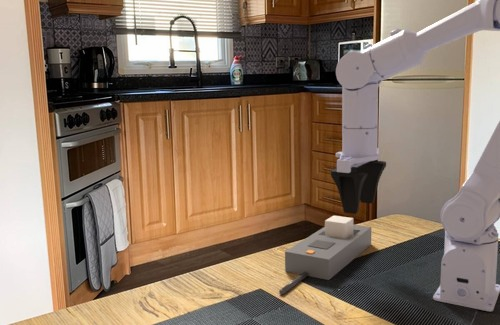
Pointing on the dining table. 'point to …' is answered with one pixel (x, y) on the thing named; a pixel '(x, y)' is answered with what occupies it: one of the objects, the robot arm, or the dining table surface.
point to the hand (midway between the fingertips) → (359, 207)
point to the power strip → (324, 254)
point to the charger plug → (339, 227)
